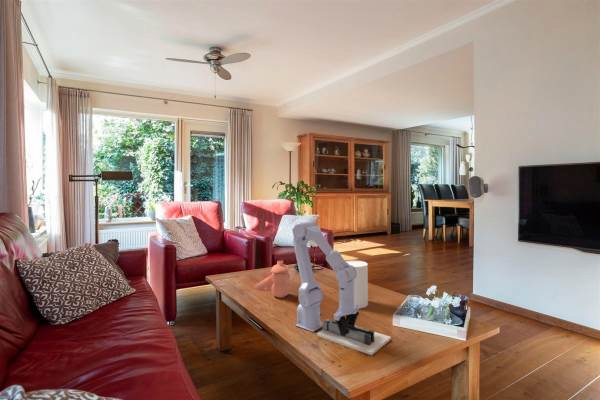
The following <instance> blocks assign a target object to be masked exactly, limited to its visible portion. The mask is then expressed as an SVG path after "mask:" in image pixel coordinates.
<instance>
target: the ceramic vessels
mask: <svg viewBox="0 0 600 400" xmlns="http://www.w3.org/2000/svg"><path fill="white" fill-rule="evenodd" d="M289 267H290V266H288V265H287V264H284V261H283V260H277V263H276V264H275V265H273V266H272V267H271V270H270V271H269V276H268V277H266V278H264V279H263V280H261V281H260V282H257V283H256V284H255V285H254V289H255V290H257V291H262V292H271V294H272V295H273V296H275V297H276V298H279V299H280V298H286V297H287V296H288V295H289V294H290V292H291V287H290V283H288V281H289V280H290V279H291V278H290V277H291V276H290V274H289V273H290V272H289V271H290V268H289Z"/></svg>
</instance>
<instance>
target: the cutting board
mask: <svg viewBox="0 0 600 400" xmlns="http://www.w3.org/2000/svg"><path fill="white" fill-rule="evenodd" d="M355 326H356V325H355ZM356 327H359V326H356ZM359 328H361V327H359ZM316 337H319V338H322V339H325V340H327V341H330V342H333V343H336V344H338V345H342V346H344V347H347V348H350V349H353V350H355V351H358V352H360V353H361V352H362V353H365V354H367V355H370V356H373V355H374V354H375V353H377V352H378V351H379V350H380V349H381V348H382V347H383V346H385V345H386V344H387V343H389V342H390V341H391V340H392V337H391V336H390V335H386V334H383V333H380V332H377V331H374V342H371V345H370V346H369V345H366V344H363V343H360V342H357V341H354V340H351V339H348V338H345V337H342V336H339V335H336V334H333V333H330V332H329V331H324V330H323V329H322V330H320V331H318V332H317V333H316Z"/></svg>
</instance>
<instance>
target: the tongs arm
mask: <svg viewBox="0 0 600 400" xmlns="http://www.w3.org/2000/svg"><path fill="white" fill-rule="evenodd" d="M331 322H332V323H334V324H337V322H336V321H335V320H334V319H333V320H332V321H331ZM337 325H338V324H337ZM347 328H350V329H353V330H357V331H360V332H363V333H367V334H370V335H371V342H374V332H375V331H373V330H370V329H366V328H363V327H360V328H359V326H357V327H356V325H355V326H352V325H347Z"/></svg>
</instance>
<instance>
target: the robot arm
mask: <svg viewBox="0 0 600 400" xmlns="http://www.w3.org/2000/svg"><path fill="white" fill-rule="evenodd" d="M291 230H292V231H291V232H292V236H293V238H292V239H293V241H292V244H293V249H294V254H295V257H296V263H297V266H298V272H299V276H300V280H301V285H300V286H299V288H298V303H299V304H298V306H297V308H296V324H295V326H296V327H298V328H301V329H304V330H306V331H310V332H315V331H317V330H319V329H320V328H323V323H321V315H320V312H321V307H320V305H321V302H322V300H323V299H324V294H323V293H324V291H322V289H321V287H320V284H319V283H318V282H317V281H315V277H314V273H313V267H312V263H311V258H310V252H309V247H308V243H309V242H310V241H313V242H314V243H315V244H316V245H317V246H318V248H319V249H320V250H321V251H322V252H323V253H324V254H325V261H326V262H327V263H328V265H329V266H330V268H332V270H333V271H334V273H335V280H336V281H337V284H338V285H337V286H338V309H337V310H336V312H335V313H334V314H333V320H334V321H336V322H337V324H338V327H339V330H340V334H341V335H343V336H346V333H347V325H352V326H356V325H355V324H356V322H357V318H358V316H359V314H360V313H359V311H358V310H359V309H360V308H359V304H355V303H354V279H355V278H356V276H357V272H356V270H355V268H354V267H353V266H352V265H349V264H348V263H346V261H347V260H345V259H344V258H343V256H342V253H341V252H340V251H338V250H336V249H335V250H334V249H333V247H332V246H331V245H330V244H329V242H328V240H327V239H326V237H325V235H323V233H322V231H321V230H322V229H321V226H320V225H319V224H318V223H317V222H316V221H315V220H309V221H308V220H307V221H304V222H303V221H302V222H296V223H295V224H294V225H293V228H292V229H291ZM352 280H353V281H352Z"/></svg>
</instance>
